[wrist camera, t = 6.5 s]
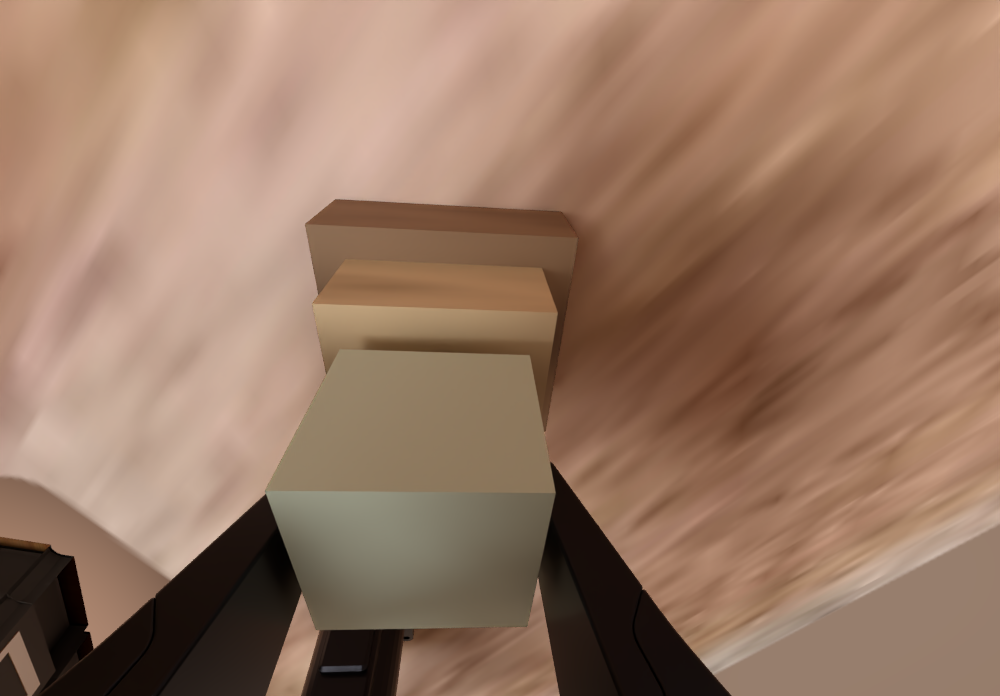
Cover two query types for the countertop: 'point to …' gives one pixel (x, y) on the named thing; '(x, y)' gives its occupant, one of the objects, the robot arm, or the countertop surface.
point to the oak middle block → (438, 311)
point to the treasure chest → (38, 617)
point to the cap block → (417, 492)
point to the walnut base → (449, 245)
